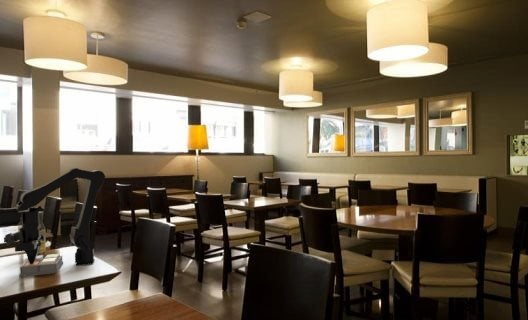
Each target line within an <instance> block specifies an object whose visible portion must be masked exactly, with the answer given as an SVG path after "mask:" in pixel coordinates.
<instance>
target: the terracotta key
mask: <svg viewBox="0 0 528 320" xmlns="http://www.w3.org/2000/svg"><path fill="white" fill-rule="evenodd" d="M39 263H40V262H34V263H33V264H30V263H26V264H25V265H24V266H23V267H25V266H35V265H38V264H39Z"/></svg>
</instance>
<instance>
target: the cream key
mask: <svg viewBox="0 0 528 320" xmlns="http://www.w3.org/2000/svg"><path fill="white" fill-rule="evenodd" d="M56 262H57V258H47V259H44V260H43V261H42V262H41V265H46V264H55V263H56Z"/></svg>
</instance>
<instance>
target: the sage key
mask: <svg viewBox="0 0 528 320" xmlns="http://www.w3.org/2000/svg"><path fill="white" fill-rule="evenodd" d="M60 256H61V255H60V253H54V254H53V253H52V254H47V255H46V256H45V259H47V258H57V259H59V258H60Z"/></svg>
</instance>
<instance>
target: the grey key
mask: <svg viewBox="0 0 528 320" xmlns="http://www.w3.org/2000/svg"><path fill="white" fill-rule="evenodd" d="M43 257H44V256H43V255H40V256H37V257H36V259H35V261H34V262H36V261H42V260H43ZM27 260H28V259H27ZM28 262H29V260H28Z"/></svg>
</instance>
